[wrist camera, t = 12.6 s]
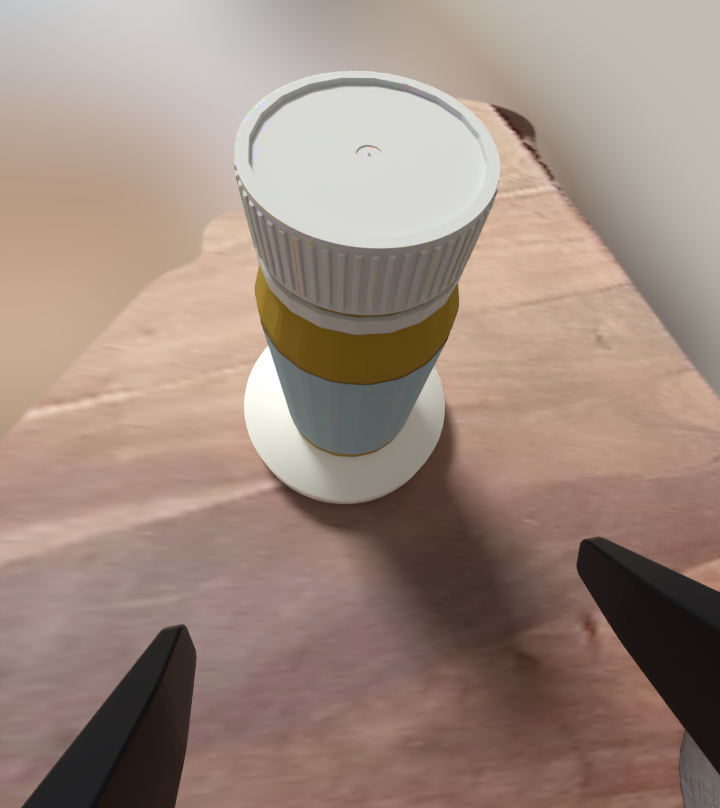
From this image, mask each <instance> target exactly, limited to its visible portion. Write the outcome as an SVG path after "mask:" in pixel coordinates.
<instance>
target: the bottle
mask: <svg viewBox="0 0 720 808" xmlns="http://www.w3.org/2000/svg"><path fill="white" fill-rule="evenodd" d="M234 156H235V161H234V168H235V176H236V180H237V184H238V187H239V191H240V195H241V199H242V203H243V206H244V210H245V214H246V218H247V222H248V226H249V229H250V233H251V237H252V240H253V244H254V247H255V250H256V254H257V258H258V261H259V269H258V274H257V278H256V283H255V296H256V301H257V306H258V311H259V315H260V319H261V324H262V327H263V330H264V333H265V337H266V340H267V343H268V346H269V349H270V352H271V356H272V359H273V362H274V365H275V368H276V371H277V374H278V378H279V381H280V384H281V387H282V390H283V393H284V397H285V400H286V403H287V406H288V409H289V412H290V415H291V418H292V420H293V422H294V424H295V426H296V427H297V429H298V431H299V432H300V434H301V435H302V436H303V437H304V438H305V439H306V440H307V441H308V442H310V443H311V444H312V445H313V446H314V447H316V448H318V449H319V450H322V451H324V452H327V453H329V454H332V455H335V456H344V457H359V456H363V455H367V454H371V453H374V452H376V451H378V450H380V449H381V448H383V447H384V446H386V445H388V444H389V443H390V442H391V441H393V439H394V438H395V437H396V436H397V434H398V433H399V432H400V431H401V429H402V428H403V427H404V425H405V423H406V421H407V419H408V417H409V415H410V413H411V411H412V409H413V407H414V405H415V403H416V401H417V399H418V397H419V395H420V393H421V391H422V389H423V387H424V385H425V383H426V381H427V379H428V377H429V375H430V373H431V371H432V369H433V367H434V365H435V363H436V361H437V359H438V357H439V355H440V353H441V351H442V349H443V347H444V345H445V343H446V341H447V339H448V336H449V333H450V331H451V329H452V326H453V323H454V320H455V317H456V315H457V312H458V307H459V292H458V281H459V279H460V277H461V275H462V272H463V270H464V268H465V266H466V264H467V261H468V260H469V258H470V256H471V253H472V251H473V249H474V246H475V244H476V242H477V240H478V237H479V235H480V233H481V230H482V228H483V226H484V224H485V221H486V219H487V217H488V214H489V212H490V210H491V208H492V205H493V203H494V201H495V197H496V194H497V191H498V189H497V186H498V184H499V175H500V161H499V155H498V151H497V148H496V145H495V143H494V140H493V138H492V137H491V135H490V133H489V131H488V130H487V129H486V127H485V126H484V124H483V123H482V122H481V121H480V120H479V119H478V118H477V117H476V115H475V114H473V113H472V112H471V111H470V110H469V109H468V108H467V107H465V106H464V105H463V104H462V103H460V102H459V101H457V100H456V99H454V98H453V97H451V96H449V95H448V94H446V93H444V92H442V91H440V90H438V89H436V88H434V87H431V86H429V85H426V84H424V83H421V82H418V81H415V80H412V79H409V78H405V77H401V76H396V75H392V74H386V73H379V72H368V71H341V72H330V73H324V74H318V75H314V76H309V77H306V78H303V79H299V80H296V81H294V82H291V83H289V84H286V85H284V86H282V87H280V88H278V89H276V90H275V91H273V92H271V93H270V94H268V95H267V96H265V97H264V98H263V99H262V100H260V101H259V102H258V103H257V104H256V105H255V106H254V107H253V108H252V109H251V110H250V111H249V113H248V114H247V115H246V117H245V118H244V120H243V121H242V123H241V125H240V127H239V130H238V133H237V136H236V140H235V148H234Z"/></svg>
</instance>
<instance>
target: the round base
mask: <svg viewBox="0 0 720 808" xmlns="http://www.w3.org/2000/svg"><path fill="white" fill-rule="evenodd" d="M244 412H245V420H246V425H247V430H248V432H249V435H250V438H251V441H252V443H253V445H254V447H255V448H256V450H257V452H258V454H259V455H260V456H261V458H262V459H263V461H264V462H265V463H266V465H267V466H268V467H269V469H270V470H271V471H272V472H273V473H274V474H275V476H276V477H277V478H278V479H279V480H280V481H282V482H283V483H284V484H286V485H287V486H288V487H289V488H291V489H293V490H294V491H296V492H298V493H300V494H301V495H304V496H306V497H309V498H311V499H314V500H317V501H321V502H325V503H332V504H357V503H364V502H368V501H372V500H375V499H379V498H381V497H383V496H385V495H388V494H390V493H392V492H393V491H395V490H396V489H398V488H400V487H401V486H402V485H404V484H405V483H406V482H407V481H408V480H410V479H411V478H412V477H413V476H414V474H415V473H416V472H417V471H418V470H419V469H420V468H421V467H422V466H423V464H424V463H425V462H426V461H427V460H428V458H429V457H430V455H431V454H432V452H433V451H434V449H435V446H436V444H437V442H438V440H439V438H440V434H441V431H442V428H443V423H444V416H445V400H444V392H443V388H442V384H441V380H440V378H439V376H438V373H437V371H436V369H435V367H433V369H432V371H431V373H430V375H429V377H428V379H427V381H426V383H425V385H424V387H423V389H422V391H421V393H420V395H419V397H418V399H417V401H416V403H415V405H414V407H413V409H412V411H411V413H410V415H409V417H408V419H407V421H406V423H405V425H404V427H403V428H402V429H401V431H400V432H399V433H398V434H397V436H396V437H395V438H394V439H393V441H391V442H390V443H389V444H388V445H386V446H384V447H383V448H381V449H380V450H378V451H376V452H374V453H371V454H367V455H363V456H359V457H344V456H335V455H332V454H329V453H327V452H324V451H322V450H319V449H318V448H316V447H314V446H313V445H312V444H311V443H310V442H308V441H307V440H306V439H305V438H304V437H303V436H302V435H301V434H300V432H299V431H298V429H297V427H296V426H295V424H294V422H293V420H292V418H291V415H290V412H289V409H288V406H287V403H286V400H285V397H284V393H283V390H282V387H281V384H280V381H279V378H278V374H277V371H276V368H275V365H274V362H273V359H272V356H271V352H270V349H269V346H268V347H267V348H266V349H265V351H264V352H263V353H262V355H261V356H260V357H259V359H258V360H257V362H256V364H255V366H254V367H253V369H252V372H251V374H250V377H249V379H248V383H247V387H246V391H245V400H244Z"/></svg>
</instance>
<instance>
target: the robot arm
mask: <svg viewBox="0 0 720 808" xmlns="http://www.w3.org/2000/svg"><path fill="white" fill-rule="evenodd" d="M576 566H577V571H578V574H579V576H580V578H581V579H582V581H583V582H584V584H585V586H586V587H587V589H588V591H589V592H590V594H591V595H592V597H593V599H594V600H595V602H596V603H597V605H598V607H599V608H600V610H601V612H602V613H603V615H604V616H605V618H606V620H607V621H608V623H609V624H610V626H611V628H612V629H613V631H614V632H615V634H616V635H617V637H618V638H619V640H620V641H621V643H622V644H623V646H624V647H625V648H626V650H627V651H628V653H629V654H630V655H631V657H632V658H633V659H634V661H635V662H636V663H637V665H638V666H639V668H640V669H641V670H642V672H643V673H644V674H645V676H646V677H647V678H648V680H649V681H650V682H651V684H652V685H653V686H654V688H655V689H656V690H657V692H658V693H659V694H660V696H661V697H662V699H663V700H664V701H665V703H666V704H667V705H668V707H669V708H670V709H671V711H672V712H673V713H674V715H675V716H676V717H677V719H678V720H679V721H680V723H681V724H682V726H683V727H684V728H685V730H686V731H687V732H688V734H689V735H690V736H691V738H692V739H693V740H694V742H695V743H696V744H697V746H698V747H699V748H700V750H701V751H702V752H703V754H704V755H705V757H706V758H707V759H708V761H709V762H710V763H711V765H712V766H713V767H714V769H715V770H716V771H717V773H718V774H719V775H720V592H718V591H716V590H714V589H712V588H710V587H707V586H705V585H703V584H701V583H699V582H697V581H695V580H692V579H690V578H688V577H686V576H684V575H682V574H680V573H677V572H675V571H673V570H671V569H669V568H667V567H665V566H662V565H660V564H658V563H656V562H654V561H652V560H650V559H647V558H645V557H643V556H641V555H639V554H637V553H635V552H632V551H630V550H628V549H626V548H624V547H622V546H620V545H617V544H615V543H613V542H611V541H609V540H607V539H605V538H602V537H592V538H587V539H584V540H582V541H581V543H580V547H579V553H578V559H577V565H576ZM195 668H196V650H195V647H194V644H193V642H192V639H191V637H190V634H189V632H188V629H187V627H186V626H185V625H184V624H180V625H175V626H170V627H166V628H164V629H163V630H161V631H160V632H159V634H158V635H157V636H156V637H155V639H154V640H153V641H152V643H151V644H150V645H149V646H148V648H147V649H146V650H145V651H144V653H143V654H142V655H141V656H140V658H139V659H138V660H137V662H136V663H135V664H134V665H133V667H132V668H131V669H130V670H129V672H128V673H127V674H126V675H125V677H124V678H123V679H122V681H121V682H120V683H119V684H118V686H117V687H116V688H115V689H114V691H113V692H112V693H111V694H110V696H109V697H108V698H107V700H106V701H105V702H104V703H103V705H102V706H101V707H100V708H99V710H98V711H97V712H96V713H95V715H94V716H93V717H92V719H91V720H90V721H89V722H88V724H87V725H86V726H85V727H84V729H83V730H82V731H81V732H80V734H79V735H78V736H77V738H76V739H75V740H74V741H73V743H72V744H71V745H70V746H69V748H68V749H67V750H66V751H65V753H64V754H63V755H62V757H61V758H60V759H59V760H58V762H57V763H56V764H55V765H54V767H53V768H52V769H51V770H50V772H49V773H48V774H47V776H46V777H45V778H44V779H43V781H42V782H41V783H40V784H39V786H38V787H37V788H36V789H35V791H34V792H33V793H32V795H31V796H30V797H29V798H28V800H27V801H26V802H25V803H24V805H23V806H22V807H21V808H175V804H176V799H177V794H178V789H179V784H180V779H181V774H182V770H183V765H184V759H185V754H186V747H187V739H188V731H189V722H190V713H191V704H192V695H193V686H194V677H195Z"/></svg>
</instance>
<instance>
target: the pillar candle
mask: <svg viewBox="0 0 720 808" xmlns="http://www.w3.org/2000/svg"><path fill="white" fill-rule="evenodd" d="M679 762H680V766H679V771H680V778H681V779H680V784H681V789H682V794H683V799H684V805H685V808H720V775H719V774H718V773H717V771H716V770H715V769H714V767H713V766H712V765H711V763H710V762H709V761H708V759H707V758H706V757H705V755H704V754H703V752H702V751H701V750H700V748H699V747H698V746H697V744H696V743H695V742H694V740H693V739H692V738H691V736H690V735H689V734H688V732H687V731H686V730H685V734H684V740H683V742H682V744H681V749H680V761H679Z"/></svg>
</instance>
